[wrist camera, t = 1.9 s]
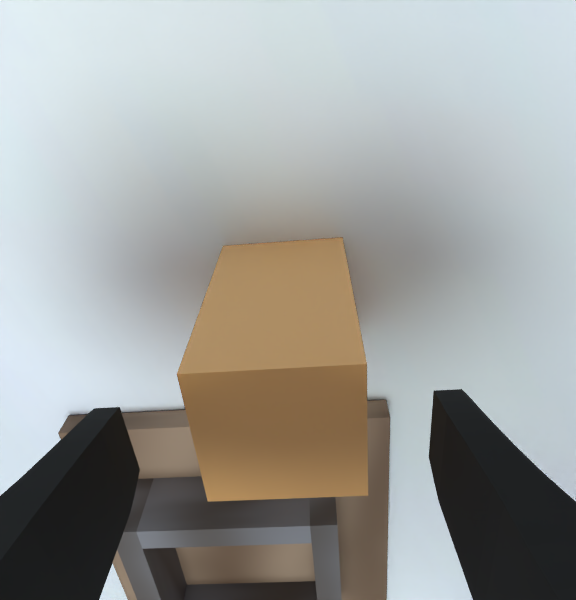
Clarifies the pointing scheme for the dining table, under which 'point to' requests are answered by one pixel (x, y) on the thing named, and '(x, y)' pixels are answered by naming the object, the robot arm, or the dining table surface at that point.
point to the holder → (246, 527)
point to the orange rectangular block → (278, 375)
